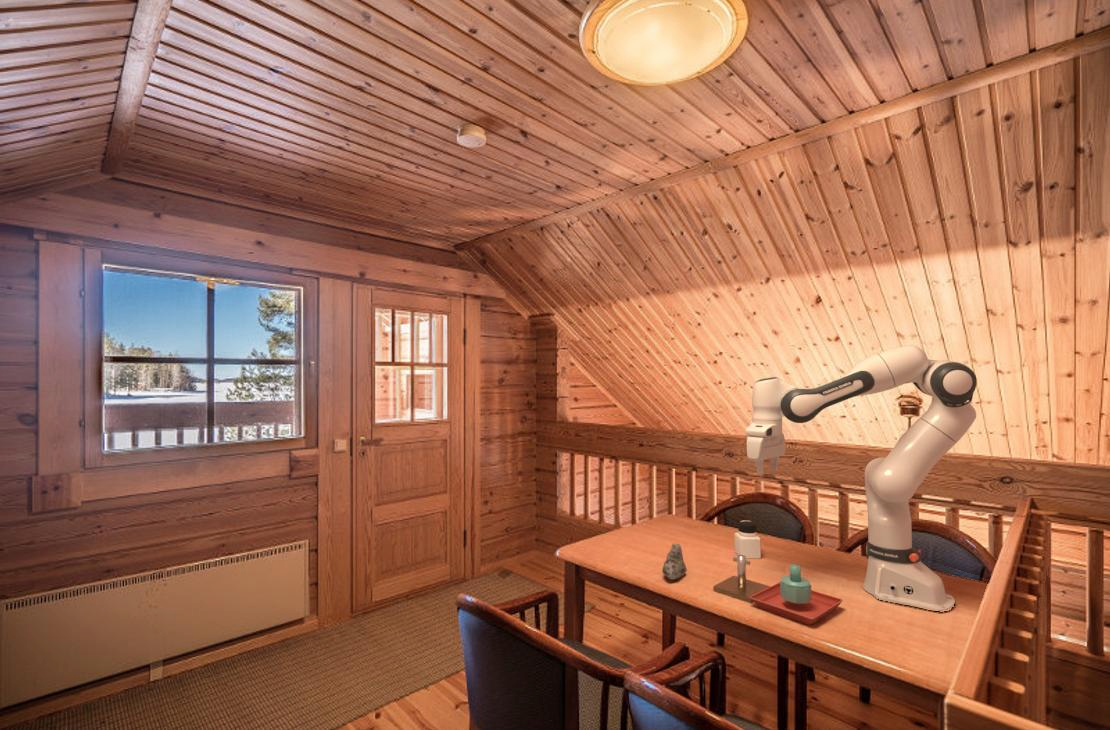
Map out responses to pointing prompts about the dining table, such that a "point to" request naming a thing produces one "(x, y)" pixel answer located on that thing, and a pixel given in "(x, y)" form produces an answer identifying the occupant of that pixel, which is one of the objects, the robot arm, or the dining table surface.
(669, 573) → the mineral rock
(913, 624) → the dining table surface
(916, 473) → the robot arm
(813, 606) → the plant saucer
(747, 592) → the post
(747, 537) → the medicine bottle
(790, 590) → the cap
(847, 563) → the dining table surface
